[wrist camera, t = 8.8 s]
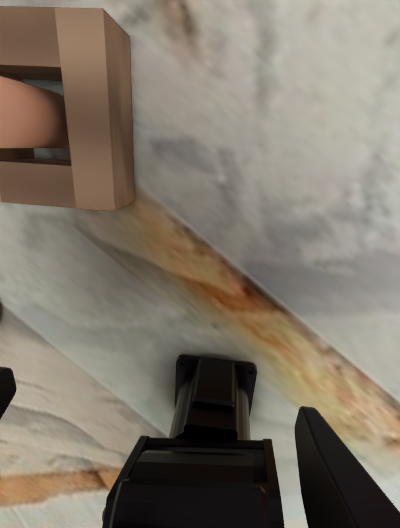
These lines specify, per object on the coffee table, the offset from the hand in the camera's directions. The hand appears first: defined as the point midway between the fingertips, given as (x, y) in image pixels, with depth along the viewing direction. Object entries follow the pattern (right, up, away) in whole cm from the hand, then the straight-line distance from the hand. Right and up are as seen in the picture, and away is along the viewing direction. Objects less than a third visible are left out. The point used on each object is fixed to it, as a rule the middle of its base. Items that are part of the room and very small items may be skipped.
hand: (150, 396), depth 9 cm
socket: (-7, +13, +9) cm, 17 cm away
